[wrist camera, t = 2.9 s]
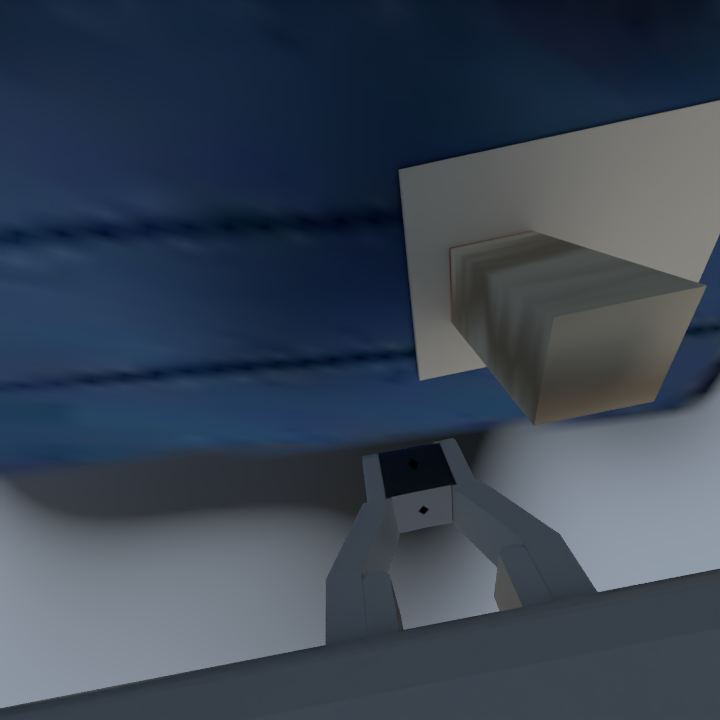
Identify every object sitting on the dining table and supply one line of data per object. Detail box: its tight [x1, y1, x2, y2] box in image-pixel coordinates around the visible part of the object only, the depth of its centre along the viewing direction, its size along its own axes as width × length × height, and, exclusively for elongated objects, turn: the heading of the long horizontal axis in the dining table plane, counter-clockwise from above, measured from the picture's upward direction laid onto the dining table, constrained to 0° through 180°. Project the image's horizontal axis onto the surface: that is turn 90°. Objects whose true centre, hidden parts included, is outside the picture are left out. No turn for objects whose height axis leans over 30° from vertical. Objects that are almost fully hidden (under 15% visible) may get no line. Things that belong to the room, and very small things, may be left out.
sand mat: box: [398, 100, 720, 380], centre depth 20 cm, size 14×20×1 cm
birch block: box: [449, 230, 706, 425], centre depth 16 cm, size 5×5×10 cm
